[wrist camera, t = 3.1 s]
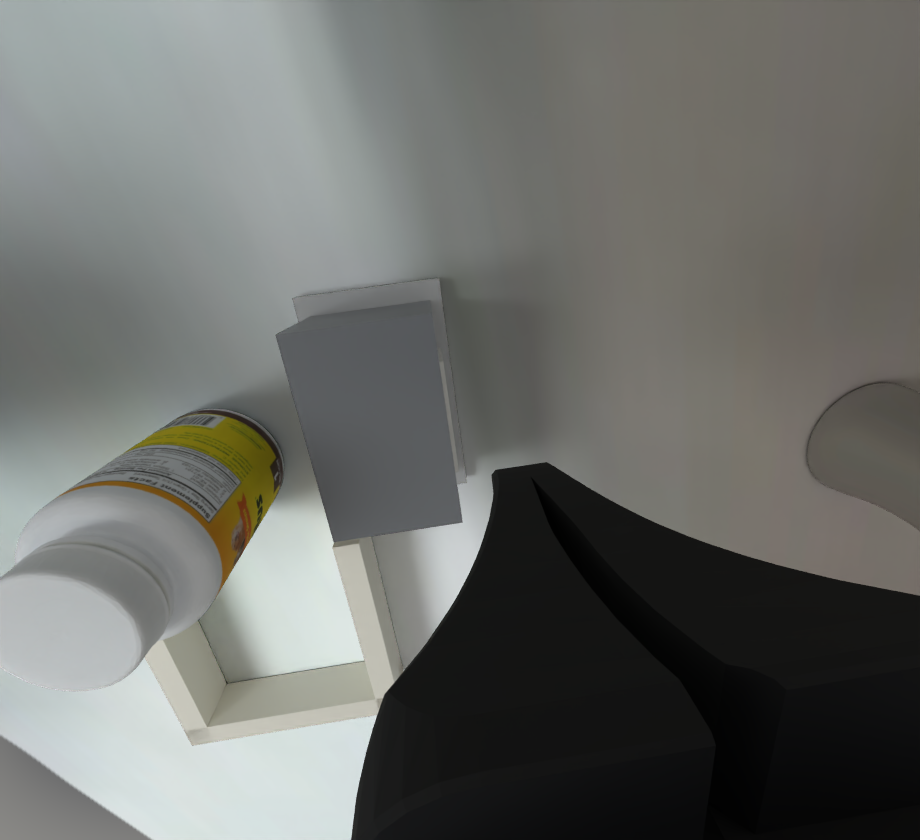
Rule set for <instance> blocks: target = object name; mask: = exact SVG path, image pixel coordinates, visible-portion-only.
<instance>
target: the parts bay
mask: <svg viewBox="0 0 920 840" xmlns="http://www.w3.org/2000/svg"><path fill="white" fill-rule="evenodd" d="M333 551H334V555H335V558H336V562H337V565H338V569H339V572H340V576H341V579H342V583H343V587H344V590H345V594H346V597H347V601H348V604H349V608H350V611H351V615H352V618H353V622H354V625H355V629H356V632H357V636H358V639H359V643H360V646H361V650H362V654H363V657H364V661H363V662H357V663H351V664H345V665H339V666H333V667H327V668H321V669H314V670H308V671H302V672H296V673H290V674H284V675H278V676H271V677H265V678H259V679H253V680H247V681H241V682H235V683H229V684H227V683H226V681H225V678H224V676H223V674H222V672H221V670H220V667H219V665H218V663H217V661H216V659H215V657H214V654H213V652H212V650H211V648H210V646H209V643H208V641H207V639H206V637H205V635H204V632H203V630H202V628H201V626H200V624H199V621H197V622H195V623H194V624H193V625H191V626H190V627H189V628H187V629H186V630H184V631H182V632H180V633H179V634H177V635H174V636H172V637H169V638H167V639H164V640H160V641H157V642H156V644H154V645H153V646H152V647H151V649H150V650H149V651H148V653H147V654H146V656H145V659H146V661H147V663H148V664H149V666H150V668H151V670H152V672H153V674H154V676H155V677H156V679H157V681H158V683H159V685H160V687H161V689H162V690H163V692H164V694H165V696H166V698H167V700H168V702H169V703H170V705H171V707H172V709H173V711H174V713H175V715H176V716H177V718H178V720H179V722H180V724H181V726H182V728H183V729H184V731H185V733H186V735H187V737H188V739H189V741H190V743H191V744H192V746H193V745H199V744H205V743H211V742H217V741H223V740H229V739H235V738H241V737H247V736H253V735H259V734H265V733H271V732H277V731H283V730H289V729H295V728H301V727H307V726H313V725H319V724H325V723H331V722H337V721H343V720H349V719H355V718H361V717H367V716H373V715H378V712H379V709H380V706H381V703H382V700H383V697H384V694H385V693H386V692H387V691H388V689H389V688H390V687H391V686H392V685H393V684H394V682H395V681H396V680H397V679H398V678H399V676H400V675H401V674H402V673H403V666H402V662H401V658H400V654H399V650H398V646H397V642H396V637H395V633H394V629H393V625H392V621H391V617H390V612H389V608H388V604H387V600H386V596H385V592H384V588H383V583H382V579H381V575H380V571H379V567H378V563H377V558H376V554H375V550H374V546H373V542H372V538H371V537H365V538H358V539H352V540H345V541H339V542H334V544H333Z"/></svg>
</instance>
